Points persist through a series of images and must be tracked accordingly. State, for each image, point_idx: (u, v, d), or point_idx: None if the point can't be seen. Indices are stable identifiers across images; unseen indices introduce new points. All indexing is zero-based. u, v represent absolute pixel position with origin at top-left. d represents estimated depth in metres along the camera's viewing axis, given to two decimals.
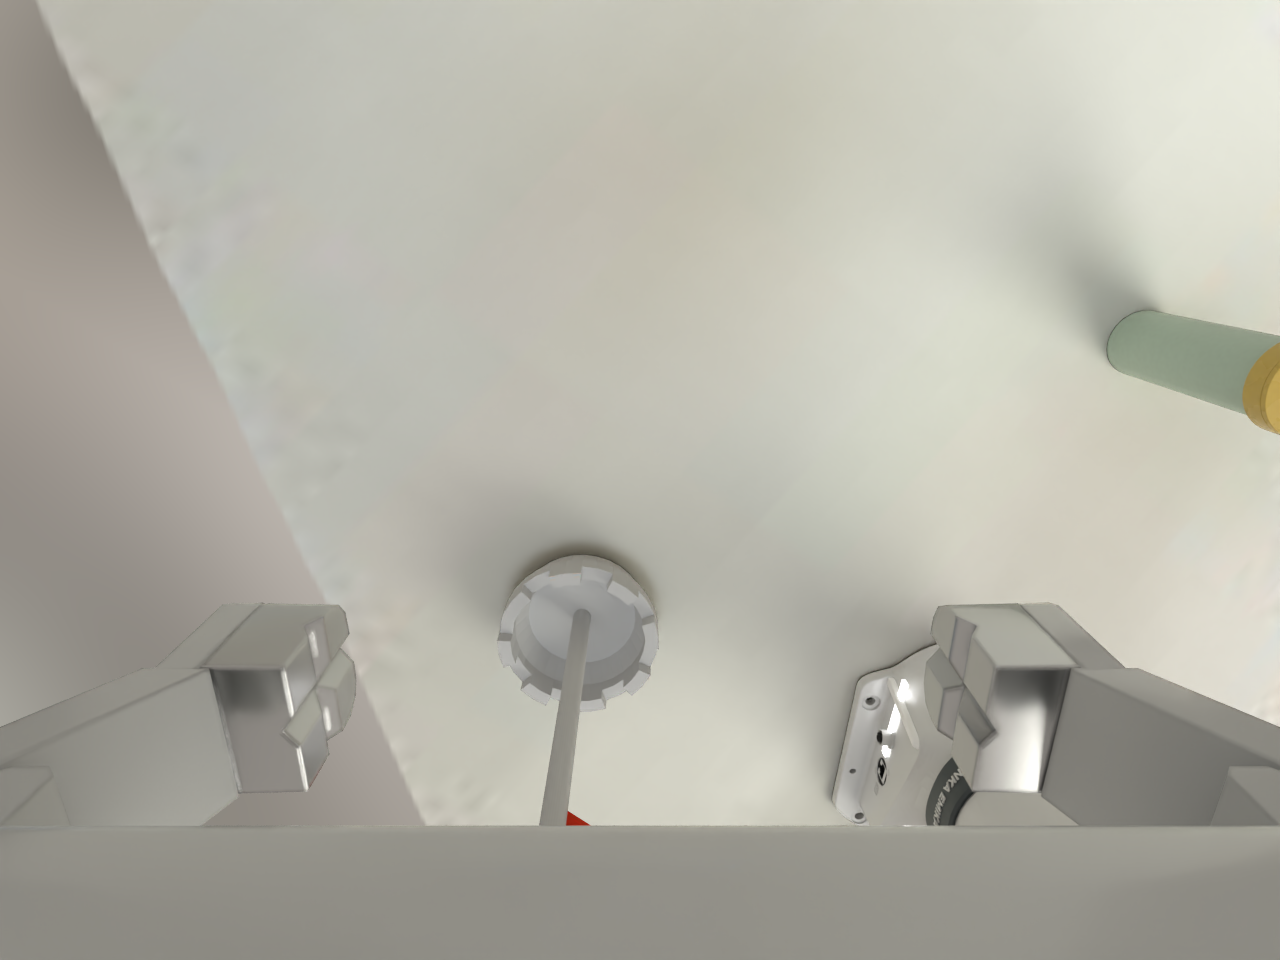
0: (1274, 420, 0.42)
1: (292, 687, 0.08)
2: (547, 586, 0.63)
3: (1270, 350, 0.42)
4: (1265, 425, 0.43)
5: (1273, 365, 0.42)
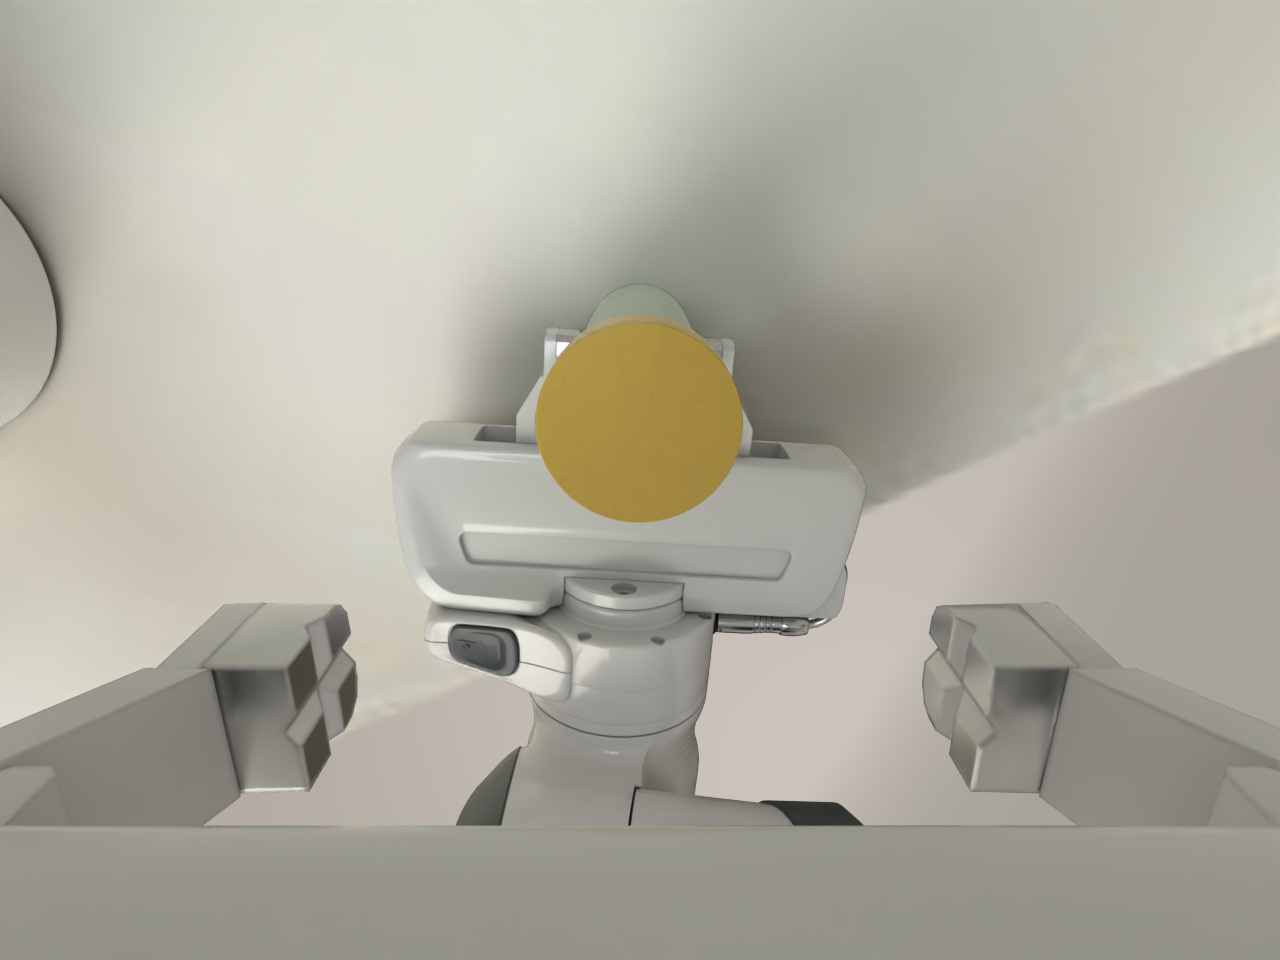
0: (561, 371, 0.20)
1: (295, 687, 0.09)
2: None
3: (691, 330, 0.21)
4: None
5: (667, 323, 0.20)
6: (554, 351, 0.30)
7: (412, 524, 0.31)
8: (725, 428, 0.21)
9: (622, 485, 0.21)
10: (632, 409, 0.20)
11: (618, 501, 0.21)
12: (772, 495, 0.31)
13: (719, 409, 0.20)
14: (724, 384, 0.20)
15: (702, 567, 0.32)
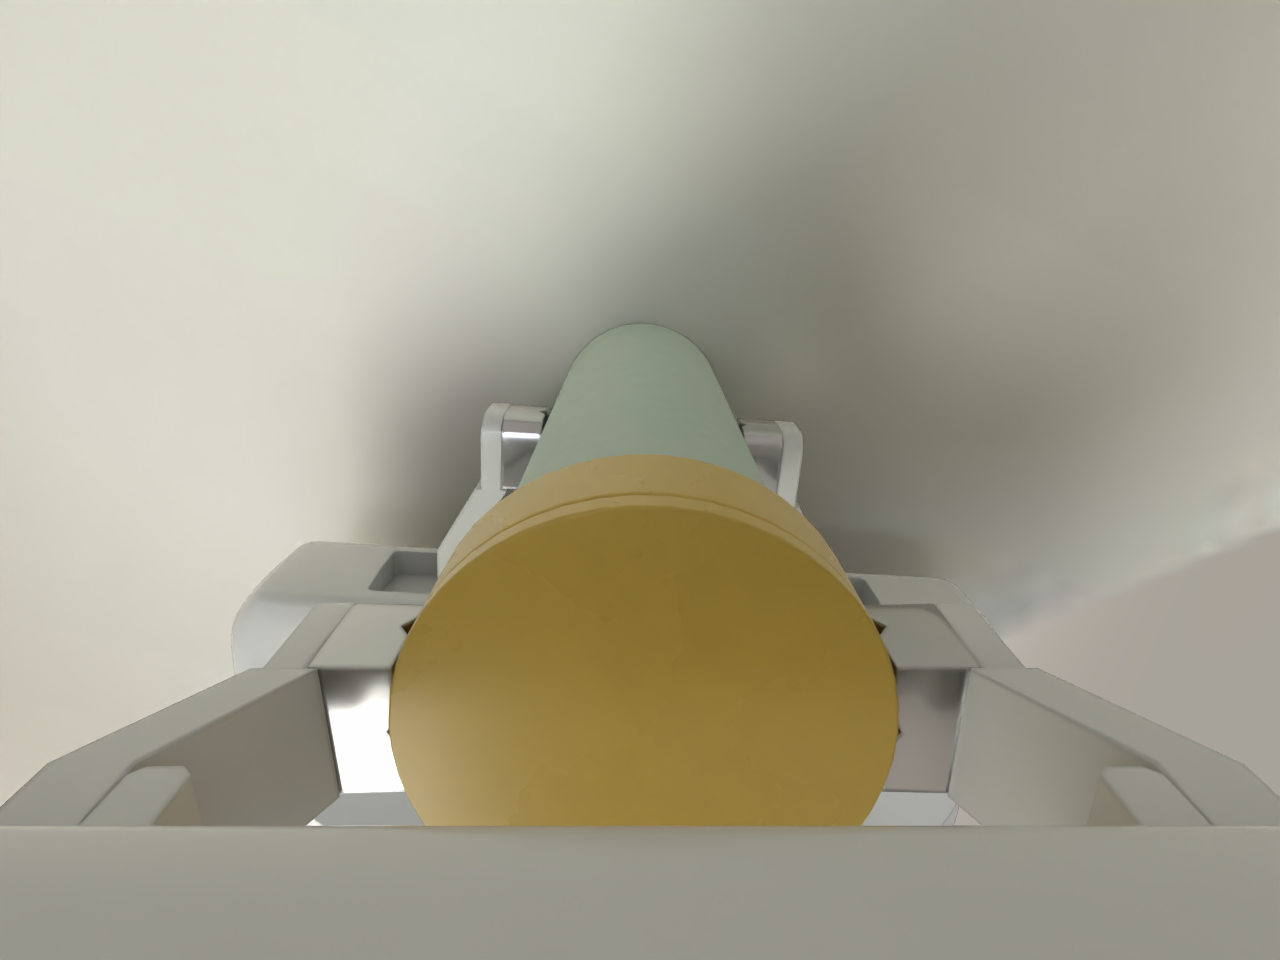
0: (445, 620, 0.08)
1: None
2: None
3: (767, 492, 0.09)
4: (422, 608, 0.09)
5: (716, 498, 0.08)
6: (498, 448, 0.18)
7: None
8: (854, 744, 0.08)
9: None
10: (627, 703, 0.08)
11: None
12: None
13: (843, 703, 0.08)
14: (859, 649, 0.08)
15: None
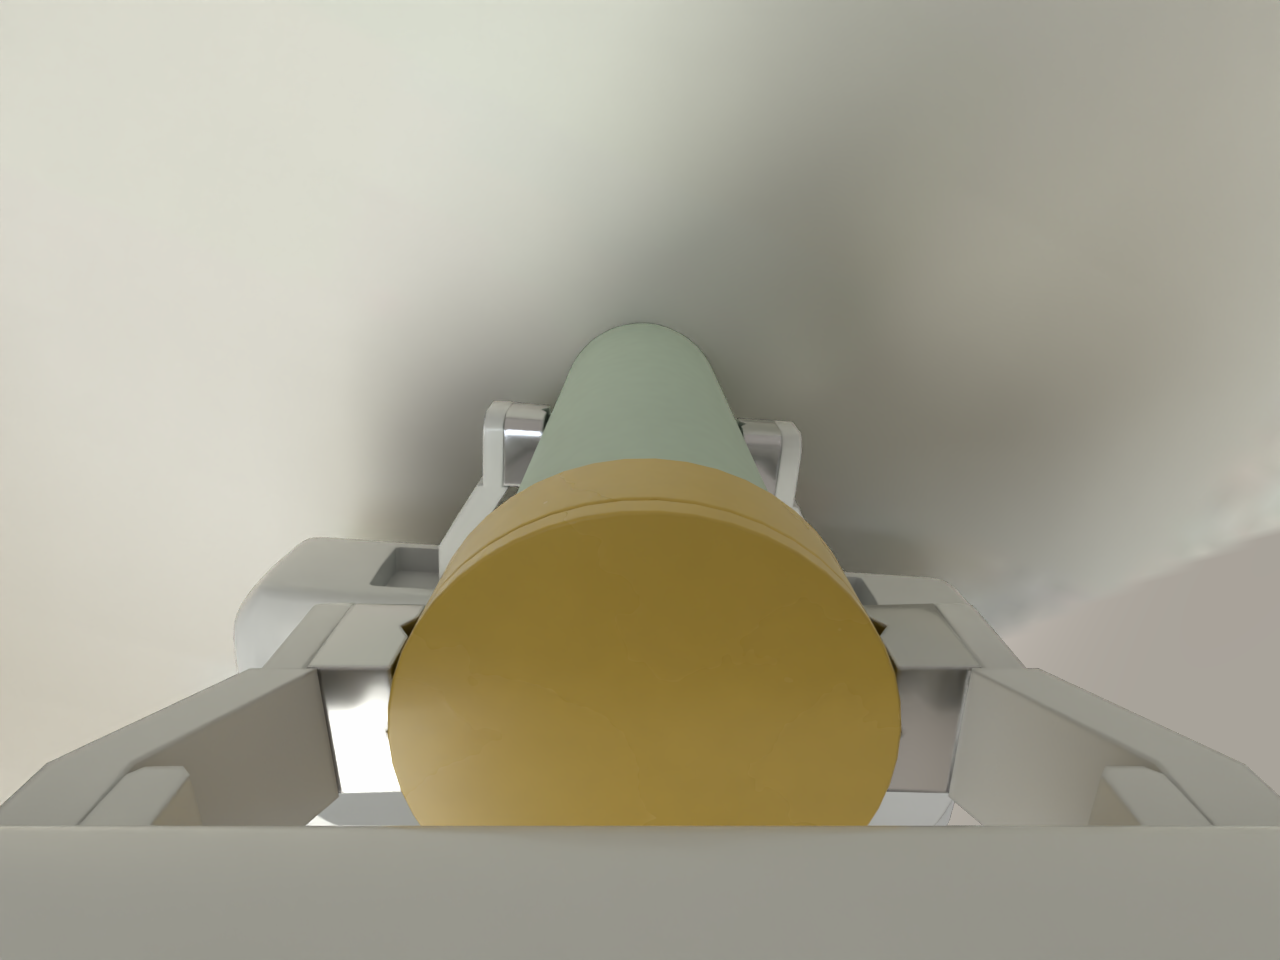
0: None
1: None
2: None
3: (496, 512, 0.09)
4: None
5: (432, 597, 0.08)
6: (500, 445, 0.18)
7: None
8: (726, 570, 0.08)
9: (767, 820, 0.09)
10: (595, 747, 0.08)
11: None
12: None
13: (670, 568, 0.08)
14: (609, 538, 0.07)
15: None
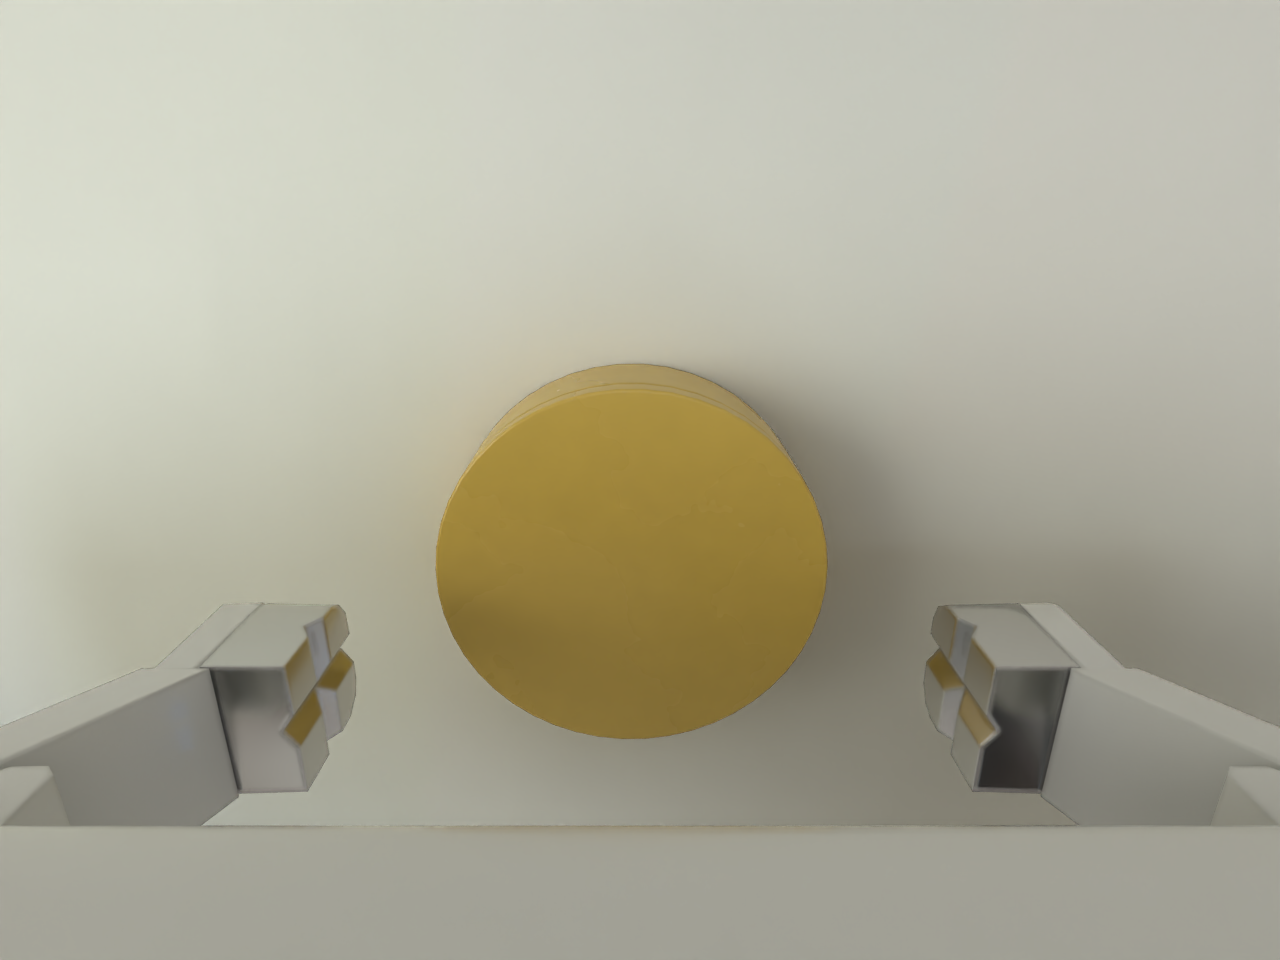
0: (489, 663, 0.11)
1: (292, 688, 0.08)
2: None
3: (518, 405, 0.12)
4: None
5: (470, 462, 0.11)
6: None
7: None
8: (694, 435, 0.10)
9: (726, 641, 0.11)
10: (594, 580, 0.11)
11: (752, 657, 0.11)
12: None
13: (652, 434, 0.10)
14: (607, 410, 0.10)
15: None
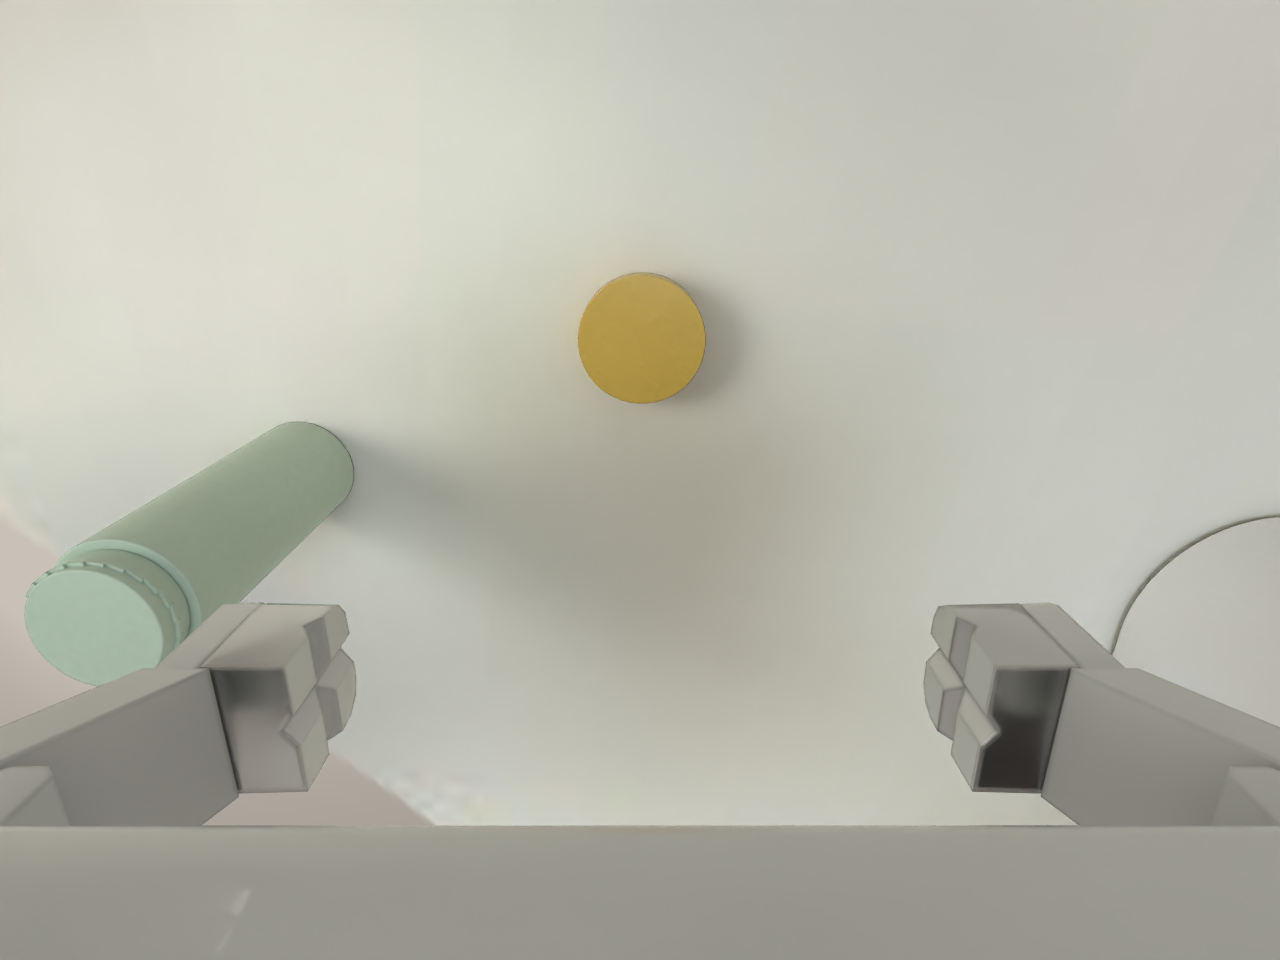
0: (594, 373, 0.34)
1: (292, 687, 0.08)
2: None
3: (603, 287, 0.34)
4: None
5: (589, 302, 0.34)
6: None
7: None
8: (660, 290, 0.33)
9: (673, 364, 0.34)
10: (629, 341, 0.34)
11: (682, 370, 0.34)
12: None
13: (647, 290, 0.33)
14: (633, 282, 0.33)
15: None
